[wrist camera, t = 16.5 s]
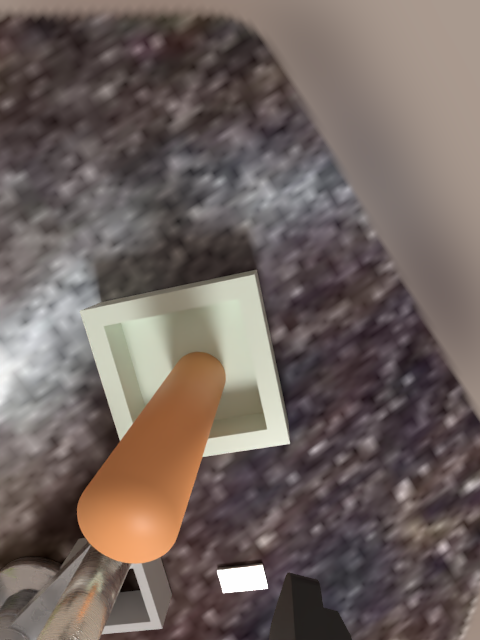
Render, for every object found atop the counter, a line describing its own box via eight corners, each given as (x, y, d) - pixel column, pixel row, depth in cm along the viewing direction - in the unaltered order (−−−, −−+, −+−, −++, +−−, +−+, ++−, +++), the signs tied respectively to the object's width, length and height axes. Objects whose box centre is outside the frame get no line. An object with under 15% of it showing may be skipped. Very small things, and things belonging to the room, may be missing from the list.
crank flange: (275, 617, 26) (275, 632, 25) (14, 641, 28) (4, 655, 27) (254, 529, 24) (253, 541, 23) (-19, 562, 27) (-31, 574, 26)
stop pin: (231, 396, 22) (190, 557, 11) (181, 405, 22) (95, 569, 11) (218, 347, 21) (162, 466, 10) (167, 357, 21) (62, 482, 11)
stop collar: (171, 594, 26) (162, 628, 24) (100, 601, 26) (84, 635, 24) (151, 529, 25) (140, 558, 23) (78, 538, 25) (59, 568, 23)
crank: (38, 649, 26) (-66, 834, 18) (-9, 614, 26) (-136, 787, 18) (174, 519, 23) (121, 674, 15) (123, 477, 23) (40, 613, 14)
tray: (288, 420, 22) (289, 443, 20) (143, 443, 23) (128, 467, 21) (256, 269, 20) (254, 274, 18) (101, 302, 22) (79, 311, 19)
